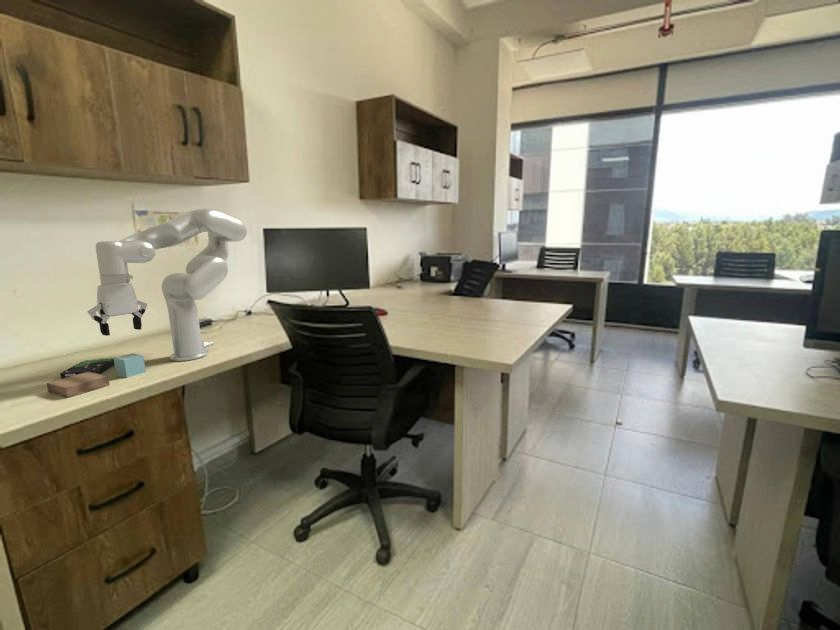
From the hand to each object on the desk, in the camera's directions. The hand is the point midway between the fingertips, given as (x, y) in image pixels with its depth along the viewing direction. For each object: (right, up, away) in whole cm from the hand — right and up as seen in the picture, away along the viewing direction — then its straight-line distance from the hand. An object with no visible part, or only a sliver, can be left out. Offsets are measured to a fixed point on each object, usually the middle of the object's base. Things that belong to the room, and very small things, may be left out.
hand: (122, 332), depth 136 cm
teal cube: (+1, -14, +3) cm, 15 cm away
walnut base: (-6, -17, -10) cm, 20 cm away
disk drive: (-16, -14, +7) cm, 23 cm away
